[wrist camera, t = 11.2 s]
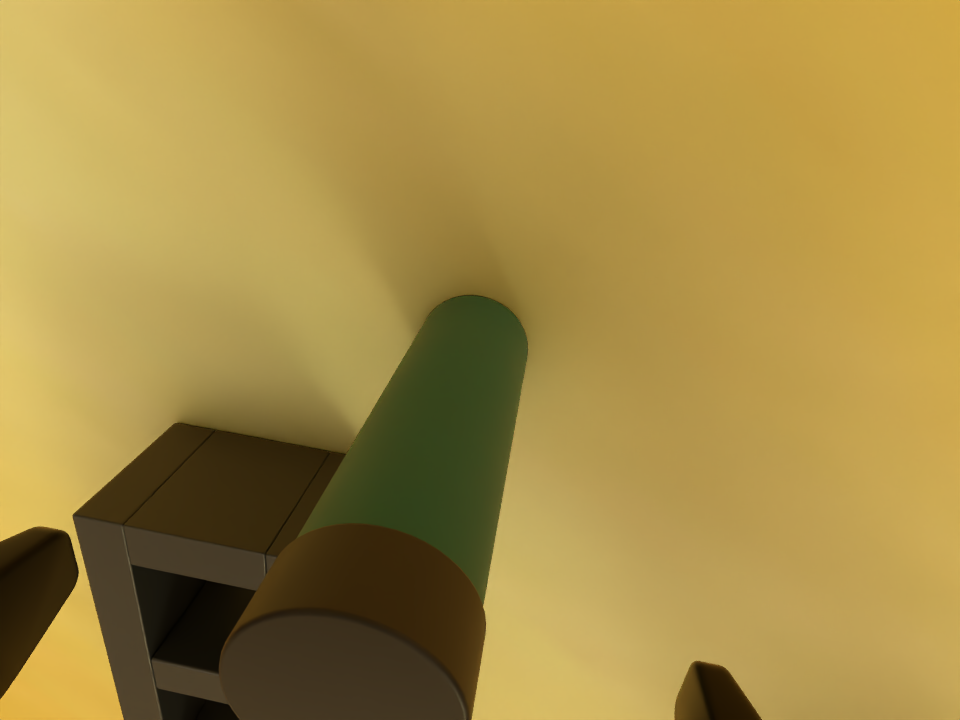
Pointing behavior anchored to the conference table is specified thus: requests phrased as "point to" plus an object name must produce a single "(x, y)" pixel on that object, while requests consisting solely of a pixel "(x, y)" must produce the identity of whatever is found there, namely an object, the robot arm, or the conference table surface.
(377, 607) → the capped tube
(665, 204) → the conference table surface
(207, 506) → the organiser
